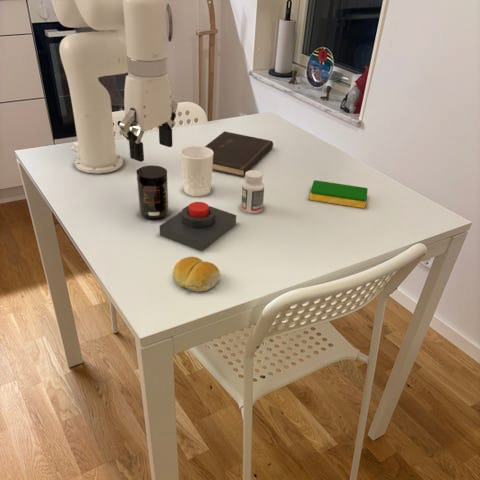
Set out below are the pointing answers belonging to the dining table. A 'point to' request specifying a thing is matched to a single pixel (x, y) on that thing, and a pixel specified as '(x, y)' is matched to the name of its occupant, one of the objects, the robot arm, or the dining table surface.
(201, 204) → the button
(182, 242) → the control box
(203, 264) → the bread roll
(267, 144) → the hardcover book
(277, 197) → the dining table surface
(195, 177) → the white cup
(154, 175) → the supplement container
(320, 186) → the dish sponge
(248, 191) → the pill bottle
